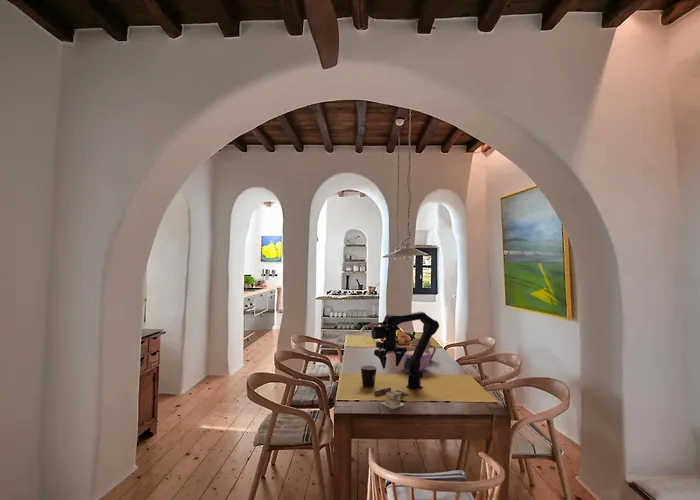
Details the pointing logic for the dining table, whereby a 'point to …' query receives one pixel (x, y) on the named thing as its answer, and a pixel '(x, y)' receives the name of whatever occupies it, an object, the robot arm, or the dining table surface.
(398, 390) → the tile
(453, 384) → the dining table surface
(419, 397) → the dining table surface
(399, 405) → the sage coaster
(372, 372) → the coffee mug
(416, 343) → the ceramic jug
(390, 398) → the beech block
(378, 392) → the walnut channel
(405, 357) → the bowl of food
